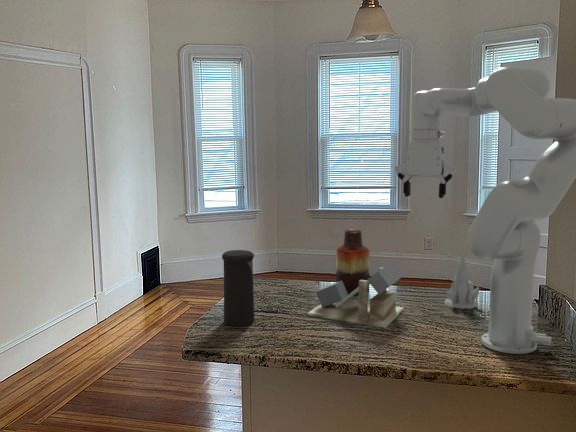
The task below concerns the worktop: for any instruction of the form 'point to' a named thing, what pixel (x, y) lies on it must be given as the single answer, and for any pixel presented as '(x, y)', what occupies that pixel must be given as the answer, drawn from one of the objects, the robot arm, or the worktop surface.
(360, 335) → the worktop surface
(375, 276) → the trapdoor
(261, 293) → the worktop surface
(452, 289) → the crystal
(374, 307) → the frame
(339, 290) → the basalt block
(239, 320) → the container
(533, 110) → the robot arm
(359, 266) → the vase
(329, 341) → the worktop surface
